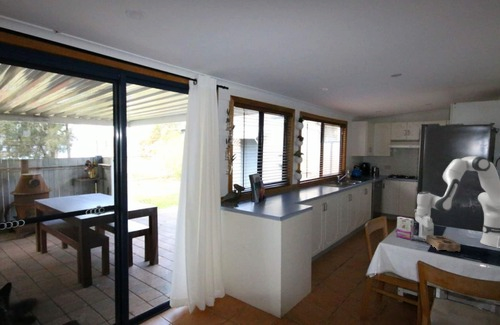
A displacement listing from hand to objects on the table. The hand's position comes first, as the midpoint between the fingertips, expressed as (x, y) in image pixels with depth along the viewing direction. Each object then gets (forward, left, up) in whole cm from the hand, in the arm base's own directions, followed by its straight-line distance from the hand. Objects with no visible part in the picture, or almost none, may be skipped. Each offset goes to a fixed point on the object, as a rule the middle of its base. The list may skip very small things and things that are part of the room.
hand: (423, 230), depth 202 cm
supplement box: (-7, -12, -10) cm, 17 cm away
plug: (0, 0, -4) cm, 4 cm away
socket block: (-10, +6, -10) cm, 15 cm away
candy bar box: (+10, -9, -10) cm, 17 cm away
